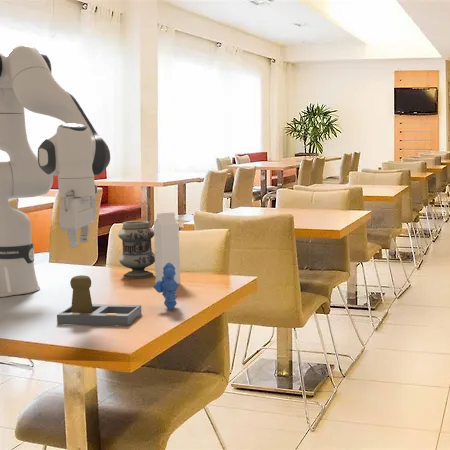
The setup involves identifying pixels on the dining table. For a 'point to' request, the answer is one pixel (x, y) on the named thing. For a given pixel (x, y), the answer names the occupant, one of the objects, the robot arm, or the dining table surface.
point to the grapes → (168, 286)
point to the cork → (81, 294)
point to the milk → (166, 244)
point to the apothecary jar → (137, 248)
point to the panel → (102, 315)
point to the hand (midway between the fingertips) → (79, 244)
